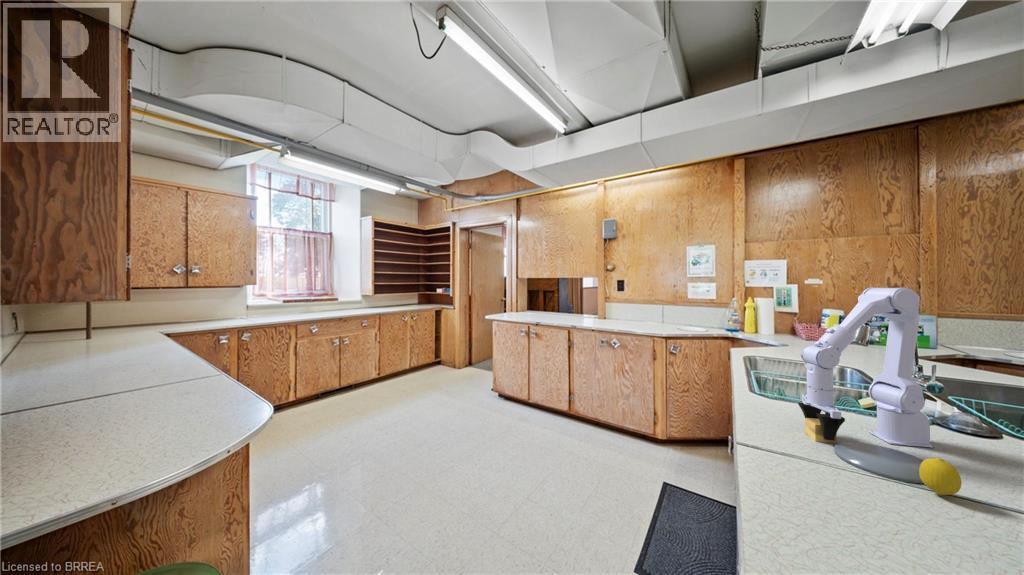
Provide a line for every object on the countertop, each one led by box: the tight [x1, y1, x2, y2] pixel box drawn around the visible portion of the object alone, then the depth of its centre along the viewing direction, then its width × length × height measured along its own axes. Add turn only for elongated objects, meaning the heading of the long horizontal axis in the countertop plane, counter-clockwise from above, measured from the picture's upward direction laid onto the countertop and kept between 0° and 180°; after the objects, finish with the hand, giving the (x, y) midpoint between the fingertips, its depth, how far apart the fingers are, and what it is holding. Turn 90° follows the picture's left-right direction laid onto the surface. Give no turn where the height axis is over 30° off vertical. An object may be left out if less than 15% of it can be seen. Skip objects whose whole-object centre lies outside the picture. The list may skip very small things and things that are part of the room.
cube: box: [804, 417, 838, 444], centre depth 97 cm, size 5×5×5 cm
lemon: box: [919, 457, 962, 497], centre depth 70 cm, size 6×6×8 cm
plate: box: [833, 441, 925, 484], centre depth 83 cm, size 18×18×1 cm
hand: (820, 433), depth 97 cm, fingers open, 7 cm apart
